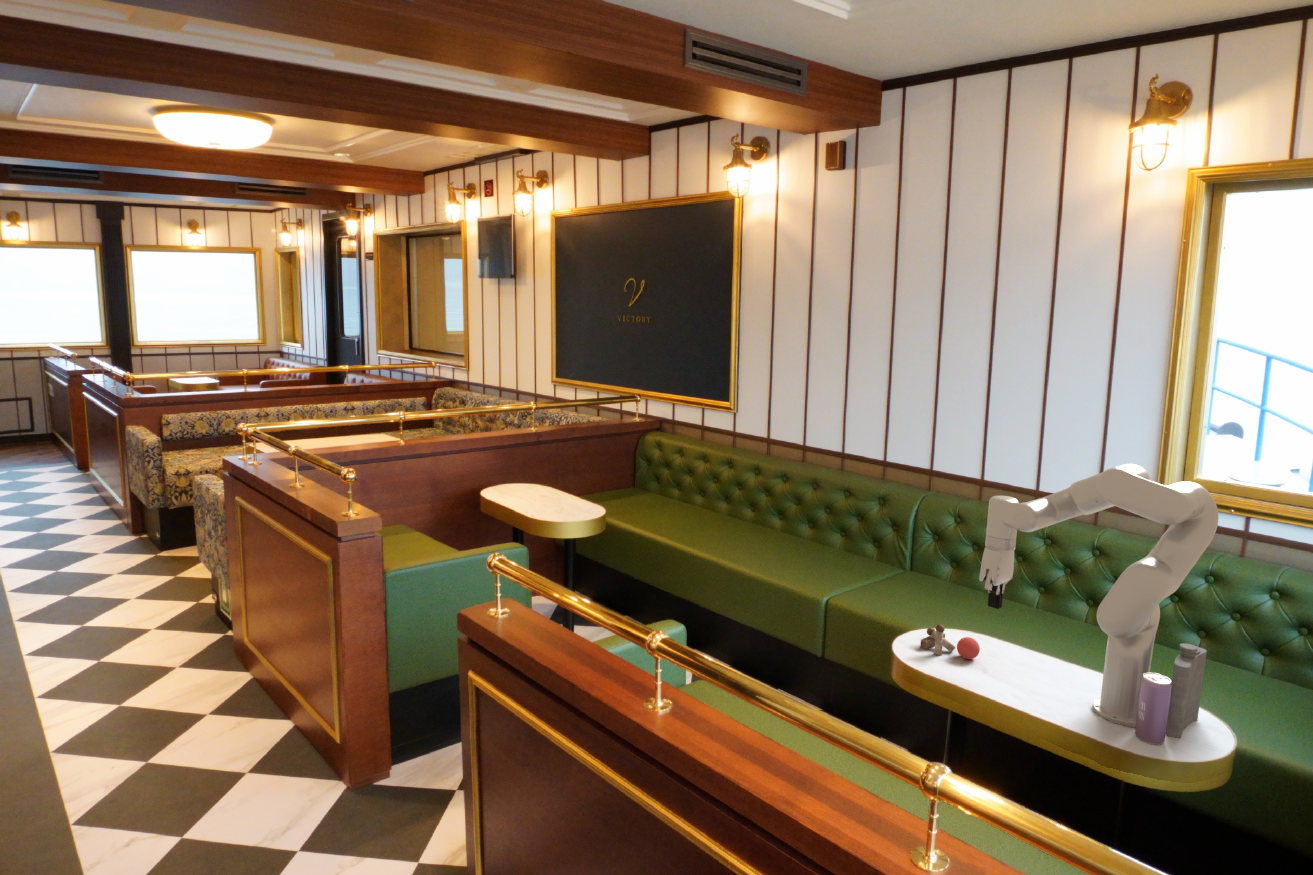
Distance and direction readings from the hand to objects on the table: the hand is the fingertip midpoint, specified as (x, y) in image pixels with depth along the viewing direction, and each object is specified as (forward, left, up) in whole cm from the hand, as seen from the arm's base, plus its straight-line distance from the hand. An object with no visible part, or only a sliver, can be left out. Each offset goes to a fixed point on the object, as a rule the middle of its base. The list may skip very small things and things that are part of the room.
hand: (994, 606), depth 222 cm
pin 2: (+9, -6, -16) cm, 20 cm away
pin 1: (+13, -4, -17) cm, 22 cm away
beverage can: (-31, +31, -17) cm, 47 cm away
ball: (+5, -3, -14) cm, 15 cm away
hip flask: (-40, +21, -17) cm, 48 cm away
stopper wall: (+14, -10, -17) cm, 24 cm away
